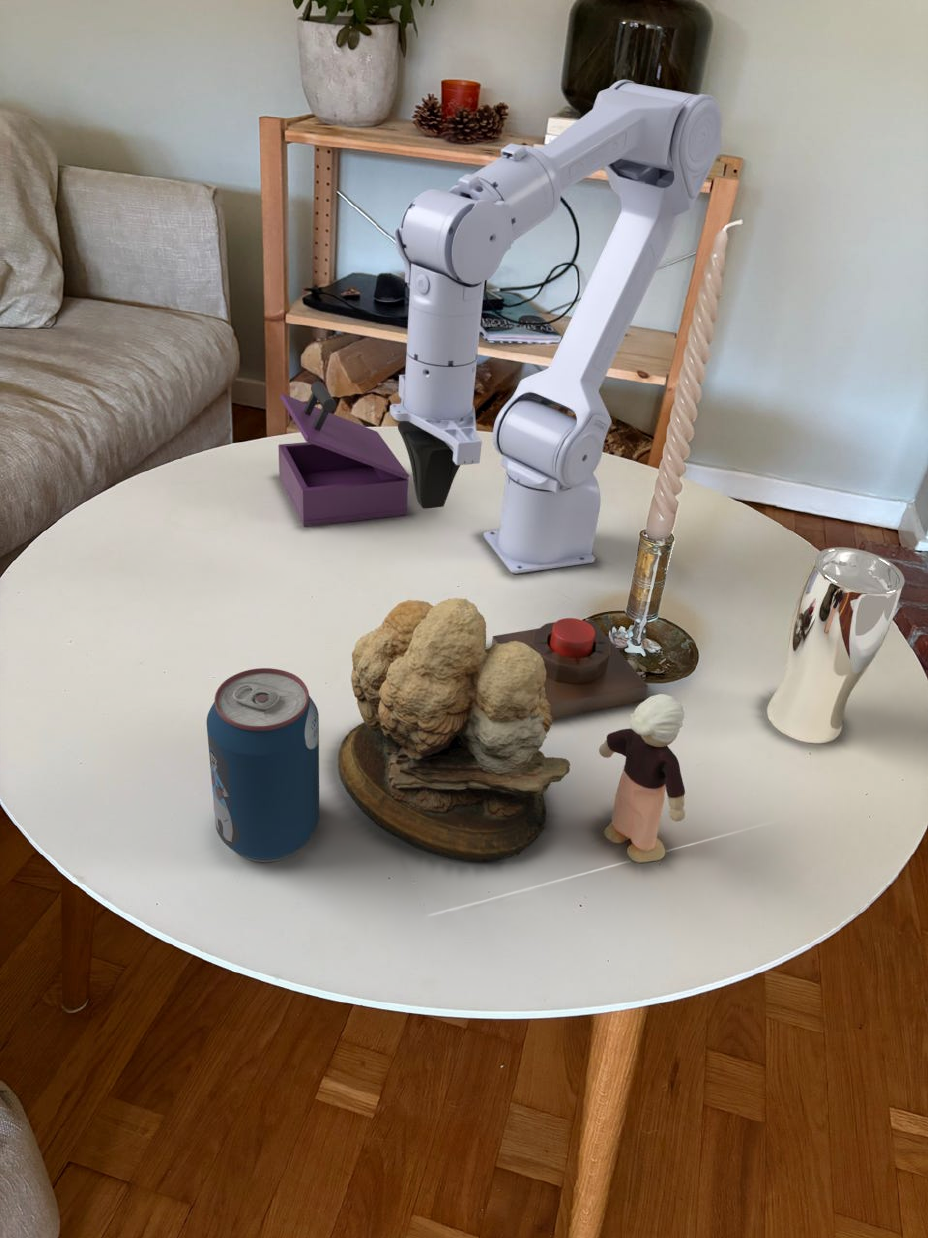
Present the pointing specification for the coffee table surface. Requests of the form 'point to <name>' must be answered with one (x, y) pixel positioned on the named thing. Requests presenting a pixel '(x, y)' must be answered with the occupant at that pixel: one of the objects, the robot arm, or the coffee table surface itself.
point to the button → (572, 638)
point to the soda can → (264, 763)
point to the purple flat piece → (340, 432)
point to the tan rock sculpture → (449, 733)
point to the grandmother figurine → (646, 776)
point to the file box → (337, 486)
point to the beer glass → (833, 640)
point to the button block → (582, 674)
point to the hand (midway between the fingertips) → (430, 504)
